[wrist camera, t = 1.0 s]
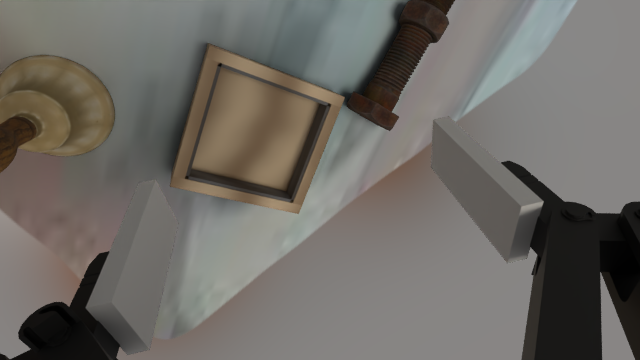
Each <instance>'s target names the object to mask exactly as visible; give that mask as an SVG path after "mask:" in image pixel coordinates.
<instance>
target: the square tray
mask: <svg viewBox="0 0 640 360" xmlns="http://www.w3.org/2000/svg"><path fill="white" fill-rule="evenodd" d="M344 98H345V97H343V96H341V95H339V94H337V93H335V92H333V91H331V90H328V89H325V88H323V87H320V86H318V85H315V84H312V83H310V82H307V81H305V80H302V79H300V78H297V77H294V76H292V75H289V74H287V73H284V72H282V71H279V70H276V69H274V68H271V67H269V66H266V65H264V64H261V63H258V62H256V61H253V60H251V59H248V58H246V57H243V56H240V55H238V54H235V53H233V52H230V51H227V50H225V49H222V48H220V47H217V46H215V45H212V44H209V43H208V45H207V48H206V52H205V56H204V59H203V63H202V66H201V70H200V74H199V77H198V81H197V84H196V88H195V91H194V95H193V99H192V102H191V106H190V109H189V113H188V117H187V120H186V124H185V127H184V131H183V134H182V138H181V142H180V145H179V149H178V152H177V156H176V160H175V163H174V167H173V170H172V176H171V183H170V187H175V188H179V189H184V190H189V191H193V192H198V193H203V194H207V195H212V196H217V197H222V198H226V199H231V200H236V201H240V202H245V203H250V204H254V205H259V206H264V207H268V208H273V209H278V210H283V211H287V212H292V213H297V214H299V212H300V209H301V207H302V204H303V201H304V199H305V196H306V194H307V191H308V189H309V186H310V184H311V181H312V179H313V176H314V174H315V171H316V169H317V166H318V164H319V161H320V159H321V156H322V154H323V151H324V149H325V146H326V144H327V141H328V139H329V136H330V134H331V131H332V129H333V126H334V124H335V121H336V118H337V116H338V113H339V111H340V108H341V106H342V103H343V101H344Z"/></svg>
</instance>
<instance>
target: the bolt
mask: <svg viewBox="0 0 640 360" xmlns="http://www.w3.org/2000/svg"><path fill="white" fill-rule="evenodd" d="M454 1H455V0H411V1H408V3H407V5H406V6H405V8H404V10H403V12H402V14H401V16H400V19H399V24H400V25H401V27H402V28H401V29H400V31H399V32H398V35H397V38H395V41H394V42H393V44H392V46H391V47H390V50H389V51H388V53H387V54H386V57H384V60H383V63H381V66H380V67H379V69H378V70H377V72H376V75H375V76H374V78H373V79H372V81H371V82H370V83H369V84H368V86H367V88H366V89H365V91H364V93H363V95H360V94H358V93H356V92H353V94H352V95H351V97H350V99H349V101H348V103H347V107H348V108H349V109H351V110H352V111H354V112H356V113H357V114H359V115H360V116H362V117H364V118H366V119H368V120H369V121H371V122H373V123H375V124H377V125H378V126H381V127H383V128H385V129H387V130H389V131H390V130H391V129H392V128H393V126H394V125H395V123H396V121H397V120H398V118H399V116H397V115H396V114H394V113H392V110H393V109H394V107H395V105H396V103H397V102H398V100H399V96H400V94H401V91H403V88H404V87H405V85H406V84H407V83H406V82H408V81H409V80H408V78H410V75H412V72H414V70H413V69H416V67H415V66H417V65H418V64H417V63H419V60H421V57H422V56H423V54H424V53H425V51H424V50H427V49H426V47H428V44H430V43H436V42H438V41H439V39H440V38H441V36H442V35H443V33H444V31H445V30H446V28H447V26H448V24H449V21H448V18H447V17H446V15H447V12H448V11H449V9H450V8H451V5H452V4H453V2H454Z"/></svg>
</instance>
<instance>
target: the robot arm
mask: <svg viewBox="0 0 640 360" xmlns="http://www.w3.org/2000/svg"><path fill="white" fill-rule="evenodd" d="M431 168H432V169H433V171H434V172H435V173H436V174H437V176H438V177H439V178H440V179H441V181H442V182H443V183H444V184H445V186H446V187H447V188H448V189H449V191H450V192H451V193H452V194H453V196H454V197H455V198H456V200H457V201H458V202H459V203H460V204H461V206H462V207H463V208H464V209H465V211H466V212H467V213H468V215H469V216H470V217H471V218H472V220H473V221H474V222H475V223H476V225H477V226H478V227H479V228H480V230H481V231H482V232H483V233H484V235H485V236H486V237H487V238H488V240H489V241H490V242H491V243H492V245H493V246H494V247H495V248H496V250H497V251H498V252H499V253H500V255H501V256H502V257H503V258H504V260H505V261H506V262H507V263H511V262H515V261H519V260H523V259H527V257H528V253H529V250H530V247H531V248H532V249H533V250H534V251H535V252H536V254H537V258H536V262H535V265H534V268H533V271H532V275H534V276H533V284H532V291H531V297H530V304H529V311H528V318H527V325H526V333H525V340H524V347H523V353H522V360H602V335H601V290H600V272H601V273H602V276H603V279H604V281H605V284H606V286H607V289H608V291H609V294H610V296H611V299H612V302H613V304H614V306H615V309H616V312H617V314H618V317H619V319H620V322H621V324H622V327H623V330H624V332H625V335H626V337H627V340H628V342H629V345H630V347H631V350H632V352H633V355H634V357H635V360H640V202H631V203H628V204H626V205H625V206H624V207H623V209H622V211H621V213H620V214H610V213H608V214H607V213H595V212H594V211H593V210H592V209H590V208H588V207H587V206H585V205H582V204H579V203H575V202H564V201H563V200H562V199H561V198H559V197H558V196H557V195H556V194H555V193H553V192H552V191H551V190H550V189H549V188H547V187H546V186H545V185H544V184H543V183H541V182H540V181H538V179H537V178H535V177H534V176H533V175H531V173H530V172H528V171H527V170H526V169H525V168H524V167H522V166H520V165H518V164H516V163H513V162H511V161H506V162H501V163H500V162H499V161H498V160H497V159H496V158H495V157H493V156H492V155H491V154H490V153H489V152H488V151H487V150H486V149H485V148H483V147H482V146H481V145H480V144H479V143H478V142H477V141H476V140H474V139H473V138H472V137H471V136H470V135H469V134H468V133H467V132H466V131H464V130H463V129H462V128H461V127H460V126H459V125H458V124H457V123H455V122H454V121H453V120H452V119H451V118H450V117H449V116H448V117H443V118H439V119H434V120H433V134H432V155H431ZM178 224H179V223H178V221H177V219H176V218H175V216H174V214H173V212H172V210H171V208H170V206H169V204H168V202H167V200H166V198H165V196H164V194H163V192H162V190H161V188H160V186H159V184H158V182H157V180H156V179H155V180H150V181H145V182H141V183H139V184H138V186H137V188H136V191H135V193H134V195H133V198H132V200H131V203H130V205H129V207H128V210H127V212H126V214H125V217H124V219H123V221H122V224H121V226H120V228H119V231H118V233H117V235H116V238H115V240H114V242H113V245H112V247H111V249H110V251H108V252H104V253H100V254H98V256H97V257H96V258H95V259H94V260H93V261H92V262H91V263H90V264H89V266H88V268H87V271H86V273H85V275H84V278H83V279H82V281H81V283H80V288H78V290H77V292H76V294H75V296H74V298H73V300H72V302H71V305H70V307H68V306H67V305H66V304H65V303H63V302H54V303H50V304H47V305H45V306H43V307H41V308H40V309H38V310H36V311H35V312H34V313H33V314H31V315H30V316H29V317H28V318H27V319H26V320H25V322H24V323H23V324H22V326H21V328H20V330H19V332H18V334H19V339H20V340H21V341H22V342H23V343H25V344H26V345H27V346H28V347H29V348H31V350H29V351H27V352H25V353H23V354H20V355H18V356H16V357H14V358H12V359H9V358H7V357H6V356H5V355H3V354H0V360H118V359H117V358H116V356H117V353H118V350H119V347H121V348H122V349H123V351H124V352H125V353H126V354H127V355H130V354H134V353H138V352H142V351H147V350H150V346H151V342H152V338H153V333H154V329H155V324H156V320H157V316H158V311H159V307H160V303H161V298H162V294H163V290H164V285H165V281H166V276H167V272H168V268H169V263H170V259H171V255H172V250H173V246H174V242H175V237H176V233H177V228H178Z"/></svg>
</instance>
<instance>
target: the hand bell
mask: <svg viewBox="0 0 640 360" xmlns="http://www.w3.org/2000/svg"><path fill="white" fill-rule="evenodd" d="M114 119H115V110H114V105H113V102H112V98H111V96H110V94H109V92H108V90H107V89H106V87H105V86H104V85H103V83H102V82H101V81H100V80H99V79H98V78H97V77H96V76H95V75H94V74H93V73H92V72H90V71H89V70H88V69H87V68H85V67H83V66H81V65H80V64H78V63H75V62H73V61H71V60H68V59H65V58H61V57H57V56H49V55H39V56H31V57H27V58H24V59H21V60H18V61H16V62H14V63H13V64H11V65H10V66H8V67H7V68H6V69H5V70H4V71H3V72H2V74H1V75H0V173H1V172H2V171H3V170H4V169H6V168H7V167H8V166H9V164H10V163H11V162H12V161H13V159H14V157H15V155H16V152H17V148H20V149H23V150H26V151H31V152H42V153H45V154H49V155H54V156H75V155H81V154H84V153H87V152H89V151H91V150H94V149H95V148H97V147H98V146H100V145H101V144H102V143H103V142H104V141H105V140H106V139H107V137H108V136H109V134H110V132H111V130H112V128H113V124H114Z"/></svg>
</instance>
